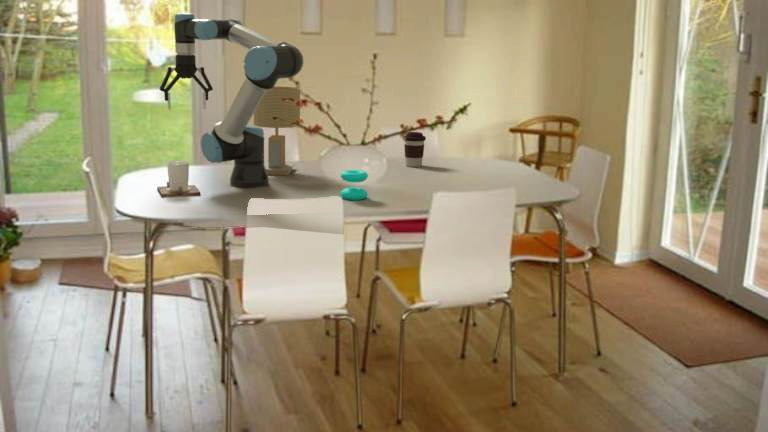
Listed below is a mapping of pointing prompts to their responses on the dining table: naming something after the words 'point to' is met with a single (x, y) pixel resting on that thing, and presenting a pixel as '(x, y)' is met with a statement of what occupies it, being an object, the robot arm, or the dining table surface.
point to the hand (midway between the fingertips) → (186, 109)
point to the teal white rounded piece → (354, 192)
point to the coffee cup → (414, 149)
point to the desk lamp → (277, 125)
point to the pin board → (167, 192)
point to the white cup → (178, 174)
